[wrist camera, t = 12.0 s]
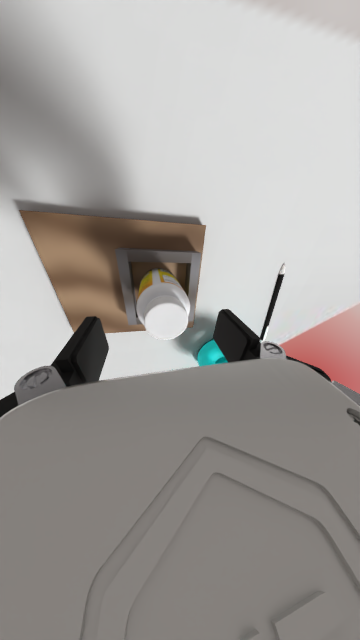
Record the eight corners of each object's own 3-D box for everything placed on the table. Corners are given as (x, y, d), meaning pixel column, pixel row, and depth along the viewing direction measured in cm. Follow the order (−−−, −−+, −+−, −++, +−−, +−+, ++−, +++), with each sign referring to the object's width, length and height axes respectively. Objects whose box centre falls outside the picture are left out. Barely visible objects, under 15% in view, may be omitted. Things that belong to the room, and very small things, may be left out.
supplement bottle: (144, 305, 22) (141, 351, 13) (136, 269, 18) (124, 298, 10) (179, 300, 22) (197, 341, 14) (176, 264, 19) (197, 288, 11)
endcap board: (27, 211, 15) (-5, 205, 12) (202, 225, 18) (213, 223, 15) (78, 330, 23) (67, 345, 20) (191, 323, 27) (196, 335, 24)
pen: (257, 342, 34) (260, 345, 33) (280, 263, 24) (285, 264, 23) (261, 342, 34) (264, 345, 33) (284, 262, 24) (290, 263, 23)
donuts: (206, 387, 22) (265, 365, 21) (190, 345, 30) (233, 328, 30) (217, 411, 27) (264, 394, 27) (201, 370, 35) (237, 356, 35)
